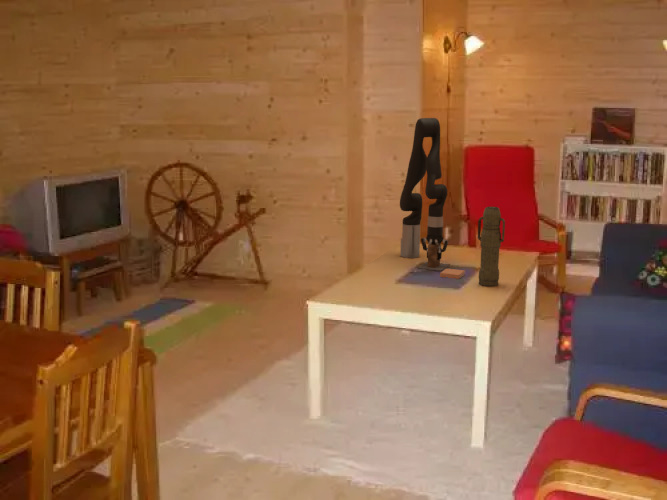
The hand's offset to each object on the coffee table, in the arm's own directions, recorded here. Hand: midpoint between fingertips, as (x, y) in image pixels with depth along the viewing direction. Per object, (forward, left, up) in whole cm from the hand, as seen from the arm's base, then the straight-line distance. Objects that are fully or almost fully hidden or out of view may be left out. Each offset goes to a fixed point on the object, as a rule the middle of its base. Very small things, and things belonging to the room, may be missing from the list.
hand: (434, 259), depth 380 cm
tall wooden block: (0, 0, -3) cm, 3 cm away
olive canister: (+32, -22, -4) cm, 39 cm away
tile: (+13, -8, -3) cm, 16 cm away
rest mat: (0, 0, -4) cm, 4 cm away
